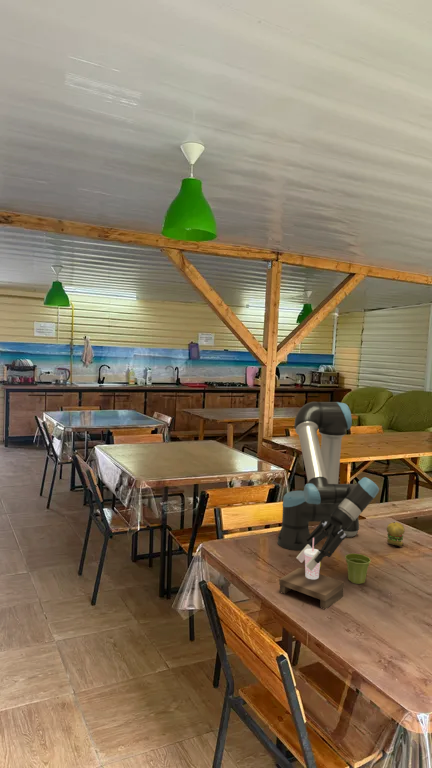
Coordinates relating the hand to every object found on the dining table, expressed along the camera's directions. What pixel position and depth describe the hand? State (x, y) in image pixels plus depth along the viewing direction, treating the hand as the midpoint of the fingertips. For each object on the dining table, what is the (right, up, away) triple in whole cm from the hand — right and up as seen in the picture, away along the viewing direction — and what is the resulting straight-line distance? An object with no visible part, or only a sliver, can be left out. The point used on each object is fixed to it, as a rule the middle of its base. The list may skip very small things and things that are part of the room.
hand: (303, 564), depth 180 cm
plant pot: (+22, -11, +14) cm, 29 cm away
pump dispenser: (+32, -9, +64) cm, 72 cm away
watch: (+8, -11, +23) cm, 26 cm away
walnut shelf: (+3, -11, +2) cm, 12 cm away
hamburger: (+50, -10, +51) cm, 72 cm away
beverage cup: (+3, -5, +2) cm, 6 cm away
